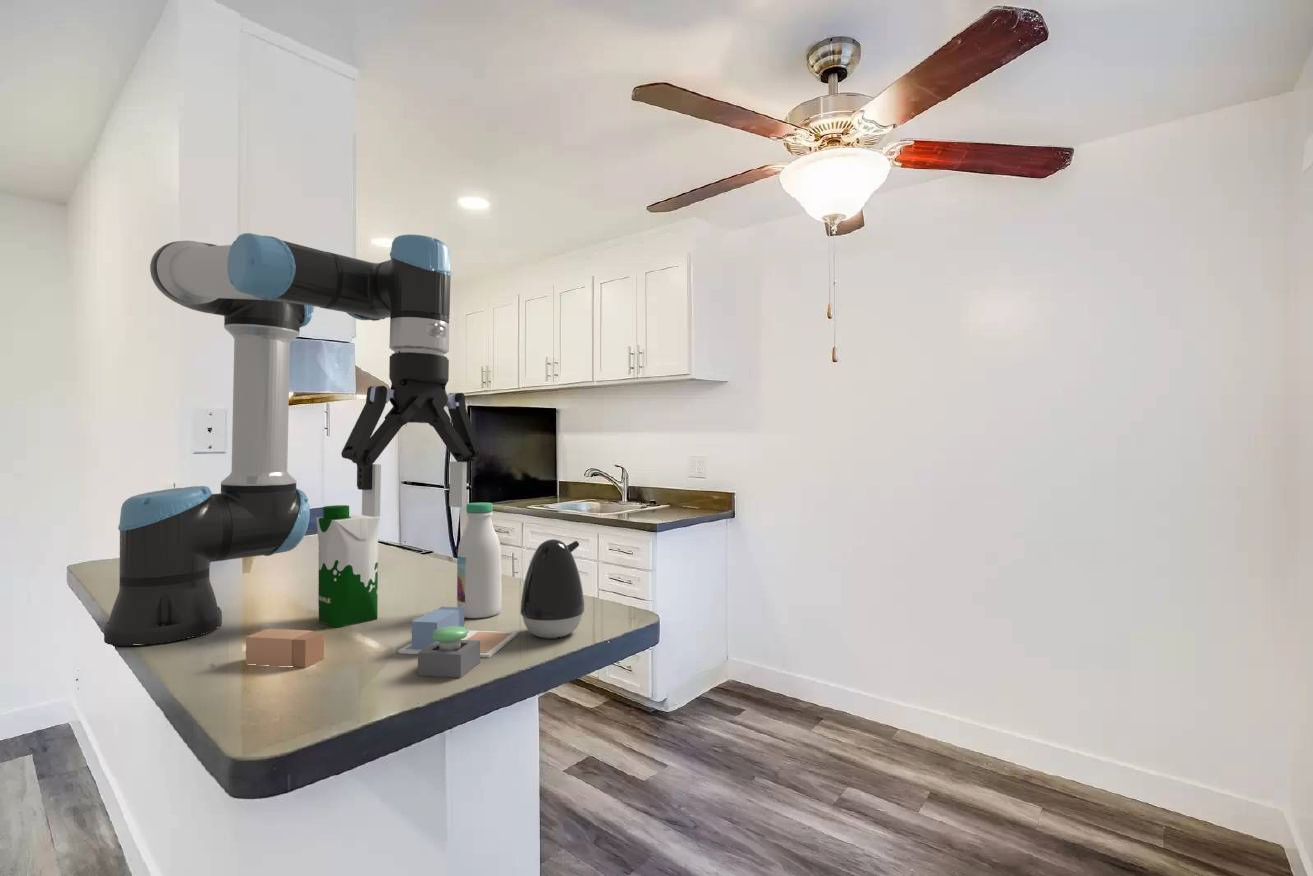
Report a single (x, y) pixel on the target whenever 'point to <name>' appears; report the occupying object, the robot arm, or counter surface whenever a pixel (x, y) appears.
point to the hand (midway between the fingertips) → (417, 511)
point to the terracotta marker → (285, 648)
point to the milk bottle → (479, 564)
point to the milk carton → (347, 566)
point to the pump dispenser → (552, 591)
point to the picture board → (488, 640)
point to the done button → (449, 637)
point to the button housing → (448, 660)
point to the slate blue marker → (434, 624)
